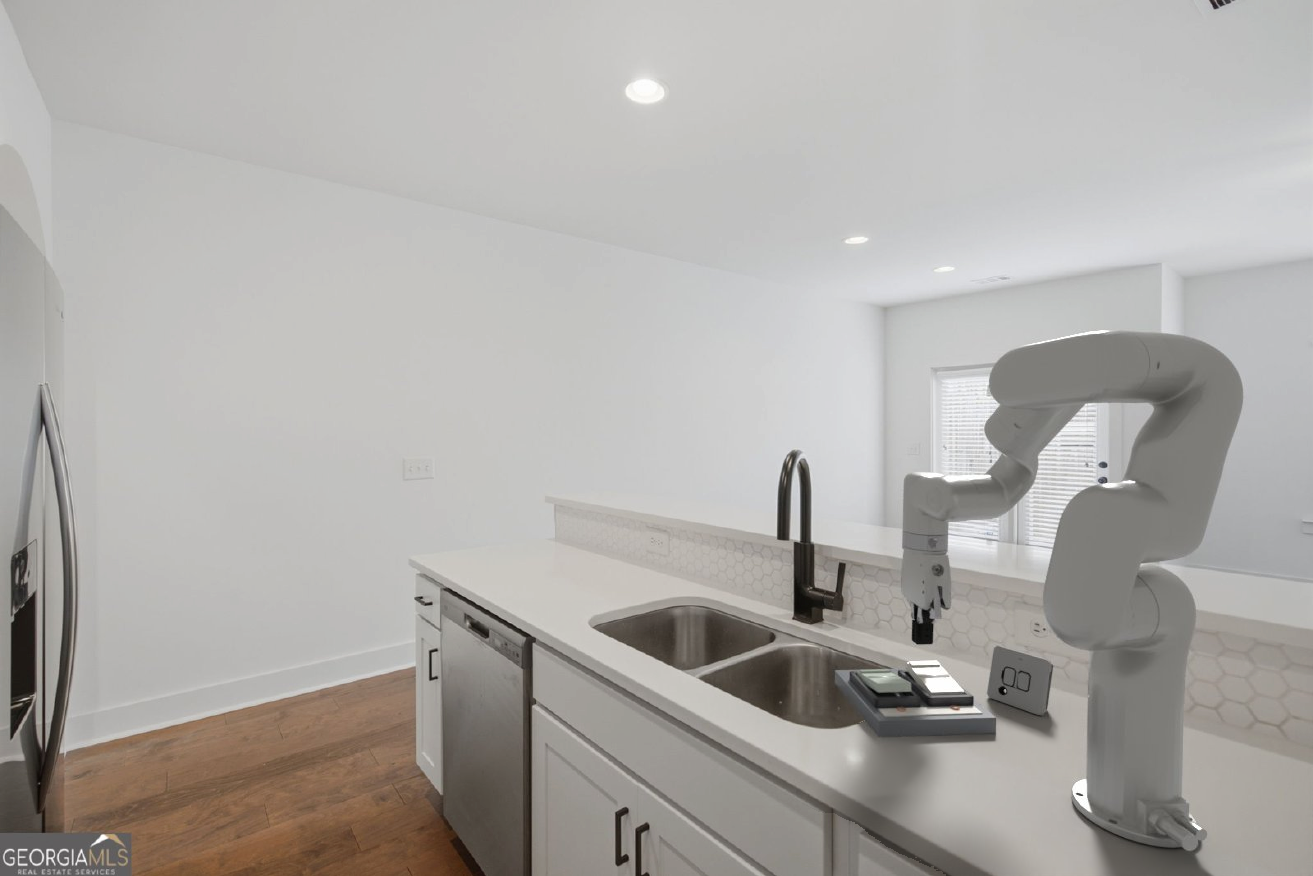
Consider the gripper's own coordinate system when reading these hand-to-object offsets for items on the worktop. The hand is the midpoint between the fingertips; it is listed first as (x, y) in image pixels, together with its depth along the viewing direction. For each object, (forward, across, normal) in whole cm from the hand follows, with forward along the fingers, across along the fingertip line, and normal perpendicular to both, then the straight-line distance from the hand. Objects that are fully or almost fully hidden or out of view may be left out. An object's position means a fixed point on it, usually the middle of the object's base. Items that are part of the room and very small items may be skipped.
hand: (922, 642), depth 112 cm
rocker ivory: (+5, -4, 0) cm, 7 cm away
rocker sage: (+5, -4, +9) cm, 11 cm away
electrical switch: (+10, -4, -16) cm, 19 cm away
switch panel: (+10, -4, +4) cm, 11 cm away
